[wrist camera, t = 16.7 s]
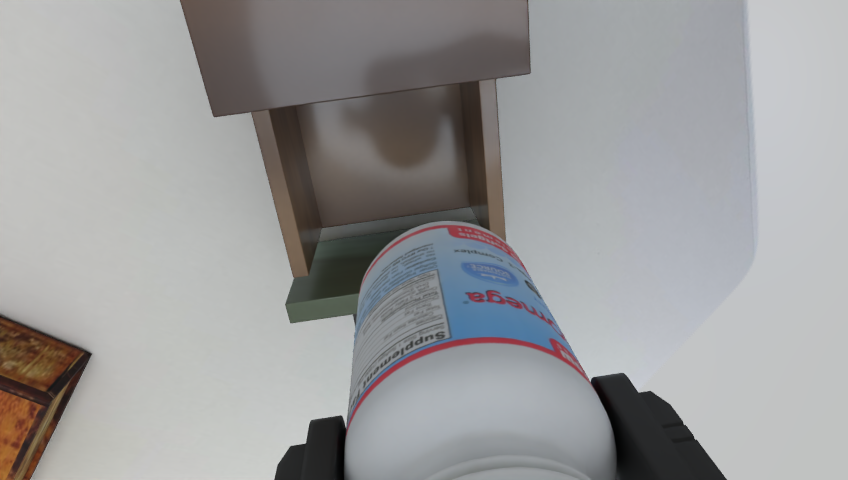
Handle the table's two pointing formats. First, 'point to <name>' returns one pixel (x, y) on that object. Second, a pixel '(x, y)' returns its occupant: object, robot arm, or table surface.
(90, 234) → the table surface
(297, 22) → the cabinet
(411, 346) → the pill bottle
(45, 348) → the book
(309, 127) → the drawer
